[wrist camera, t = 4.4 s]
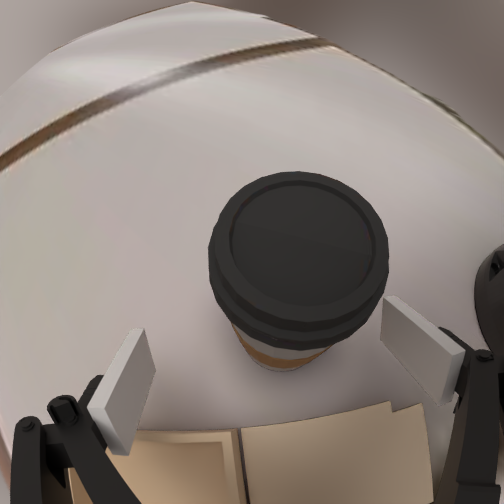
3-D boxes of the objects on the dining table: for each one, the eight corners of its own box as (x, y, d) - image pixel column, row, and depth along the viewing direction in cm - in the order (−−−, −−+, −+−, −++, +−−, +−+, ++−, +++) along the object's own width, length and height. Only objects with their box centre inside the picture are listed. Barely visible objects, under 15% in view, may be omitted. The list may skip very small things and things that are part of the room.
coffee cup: (316, 394, 23) (389, 359, 10) (217, 367, 24) (167, 298, 11) (338, 303, 27) (402, 188, 14) (248, 279, 28) (239, 149, 15)
